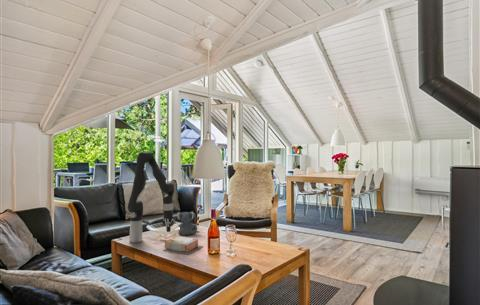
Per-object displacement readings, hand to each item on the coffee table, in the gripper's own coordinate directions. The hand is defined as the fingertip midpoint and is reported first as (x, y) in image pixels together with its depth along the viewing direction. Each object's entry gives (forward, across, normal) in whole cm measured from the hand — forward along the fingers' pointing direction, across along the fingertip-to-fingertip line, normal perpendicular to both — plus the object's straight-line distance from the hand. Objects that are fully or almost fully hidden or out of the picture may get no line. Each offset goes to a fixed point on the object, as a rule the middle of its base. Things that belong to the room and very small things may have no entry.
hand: (168, 231), depth 235 cm
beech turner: (+11, -8, +10) cm, 17 cm away
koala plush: (+12, -11, +37) cm, 40 cm away
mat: (+11, +14, 0) cm, 18 cm away
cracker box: (+8, +2, 0) cm, 8 cm away
